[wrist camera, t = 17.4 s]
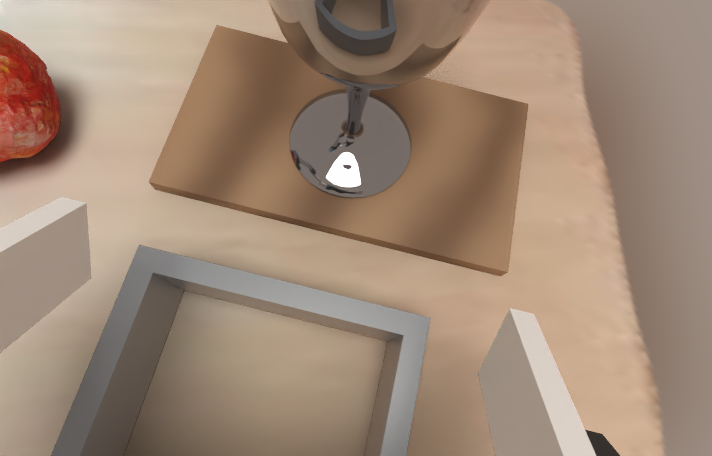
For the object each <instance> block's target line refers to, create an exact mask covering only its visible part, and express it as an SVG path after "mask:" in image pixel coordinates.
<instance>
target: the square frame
mask: <svg viewBox="0 0 712 456" xmlns="http://www.w3.org/2000/svg"><path fill="white" fill-rule="evenodd" d="M184 291H188V292H192V293H196V294H200V295H204V296H208V297H212V298H216V299H220V300H224V301H228V302H232V303H236V304H240V305H244V306H248V307H252V308H256V309H260V310H264V311H268V312H272V313H276V314H280V315H284V316H288V317H292V318H296V319H300V320H304V321H308V322H312V323H316V324H320V325H324V326H328V327H332V328H336V329H340V330H344V331H348V332H352V333H356V334H360V335H364V336H368V337H372V338H376V339H380V340H384V341H388V342H387V347H386V352H385V356H384V361H383V366H382V371H381V376H380V381H379V386H378V391H377V395H376V400H375V405H374V410H373V415H372V420H371V425H370V430H369V434H368V439H367V444H366V449H365V454H364V456H406V454H407V448H408V442H409V437H410V431H411V425H412V420H413V414H414V408H415V403H416V397H417V391H418V386H419V380H420V374H421V369H422V363H423V357H424V352H425V346H426V340H427V335H428V329H429V323H430V317H426V316H422V315H418V314H414V313H410V312H406V311H402V310H398V309H394V308H390V307H386V306H382V305H378V304H374V303H370V302H366V301H362V300H358V299H354V298H350V297H346V296H342V295H338V294H334V293H330V292H326V291H322V290H318V289H314V288H310V287H306V286H302V285H298V284H294V283H290V282H286V281H282V280H278V279H274V278H270V277H266V276H262V275H258V274H254V273H250V272H246V271H242V270H238V269H234V268H230V267H226V266H222V265H218V264H214V263H210V262H206V261H202V260H198V259H194V258H190V257H186V256H182V255H178V254H174V253H170V252H166V251H162V250H158V249H154V248H150V247H146V246H142V245H139V247H138V249H137V251H136V254H135V256H134V259H133V261H132V263H131V266H130V268H129V271H128V273H127V275H126V278H125V280H124V282H123V285H122V287H121V290H120V292H119V294H118V297H117V299H116V302H115V304H114V306H113V309H112V311H111V314H110V316H109V318H108V321H107V323H106V325H105V328H104V330H103V333H102V335H101V337H100V340H99V342H98V345H97V347H96V349H95V352H94V354H93V357H92V359H91V361H90V364H89V366H88V368H87V371H86V373H85V376H84V378H83V380H82V383H81V385H80V388H79V390H78V392H77V395H76V397H75V400H74V402H73V404H72V407H71V409H70V411H69V414H68V416H67V419H66V421H65V423H64V426H63V428H62V431H61V433H60V435H59V438H58V440H57V443H56V445H55V447H54V450H53V452H52V454H51V456H123V455H124V452H125V450H126V447H127V444H128V441H129V439H130V436H131V433H132V431H133V428H134V425H135V422H136V420H137V417H138V414H139V412H140V409H141V406H142V403H143V401H144V398H145V395H146V393H147V390H148V387H149V385H150V382H151V379H152V376H153V374H154V371H155V368H156V366H157V363H158V360H159V357H160V355H161V352H162V349H163V347H164V344H165V341H166V339H167V336H168V333H169V330H170V328H171V325H172V322H173V320H174V317H175V314H176V311H177V309H178V306H179V303H180V301H181V298H182V295H183V292H184Z"/></svg>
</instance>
